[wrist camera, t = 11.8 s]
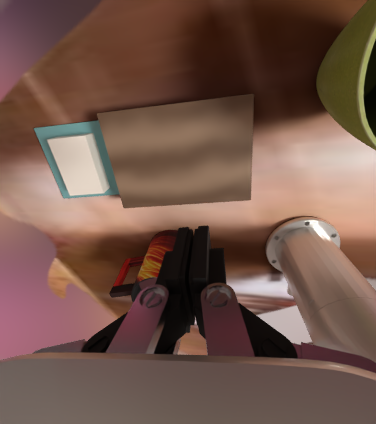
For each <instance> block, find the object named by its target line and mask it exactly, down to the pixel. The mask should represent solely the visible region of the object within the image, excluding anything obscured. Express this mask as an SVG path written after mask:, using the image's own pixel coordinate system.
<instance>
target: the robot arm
mask: <svg viewBox="0 0 376 424" xmlns="http://www.w3.org/2000/svg"><path fill="white" fill-rule="evenodd" d="M339 248H340V236H339V234H338V232H337V231H336V229H335V228H334V227H333V226H332V225H331V224H330V223H328V222H327V221H325V220H323V219H320V218H315V217H301V218H296V219H293V220H290V221H287V222H285V223H283V224H282V225H280V226H279V227H277V228H276V229H275V230H274V231H273V232H272V234H271V235H270V236H269V238H268V240H267V243H266V255H267V258H268V260H269V262H270V263H271V265H272V266H273V267H275V268H276V269H278V270H279V271H281V272H283V274H284V276H285V278H286V281H287V283H288V289H287V292H288V294H289V295H291V296H293V297H294V300H295V302H296V304H297V306H298V309H299V311H300V313H301V316H302V318H303V320H304V323H305V325H306V328H307V330H308V332H309V335H310V337H311V339H312V342H313V344H314V345H312V344H307V343H303V342H301V345H298V344H294V343H291V342H290V341H289V340H288V339H287V338H286V337H285V336H284V335H282V334H281V333H279V332H278V331H277V330H275V329H274V328H272V327H271V326H270V325H268V324H267V323H266V322H264V321H263V320H262V319H260V318H259V317H258V316H256V315H255V314H253V313H252V312H251V311H249V310H248V309H247V308H245V307H244V306H242V305H241V304H240V303H238V301H237V297H236V294H235V292H234V290H233V289H232V288H231V287H230V286H229V285H227V284H226V272H225V260H224V248H213V249H211V243H210V235H209V227H208V226H199V227H198V229H195V233H194V235H193V230H192V229H190V230H189V227H183V228H179V229H178V232H177V236H176V240H175V244H174V247H173V251H166V252H165V255H164V258H163V261H162V264H161V267H160V271H159V274H158V277H157V280H156V283H155V285H151V286H148V287H146V288H144V289H143V290H142V291H140V293H139V294H138V296H137V297H136V299H135V301H134V303H133V304H132V306H131V308H130V310H129V311H128V312H127V313H126V314H124V315H123V316H121V317H120V318H118V319H117V320H115V321H114V322H112V323H111V324H109V325H108V326H107V327H105V328H104V329H102V330H101V331H99V332H98V333H96V334H95V335H94V336H92V337H91V338H90V339H89V340H88V341H85V339H83V340H78V341H74V342H70V343H65V344H60V345H56V346H52V347H47V348H43V349H40V350H38V351H35V352H34V353H32V354H26V355H20V356H15V357H11V358H7V359H3V360H0V424H376V290H375V289H374V288H373V287H372V286H371V285H370V283H368V281H367V280H366V279H365V278H364V276H363V275H362V274H361V273H360V272H359V271H358V270H357V268H356V267H355V266H354V265H353V264H352V263H351V261H350V260H349V259H348V258H347V257H346V256H345V254H344V253H343V252H342V251H341V250H340V249H339ZM195 316H196V321H197V325H198V327H199V333H200V334H201V335H202V336H203V337H204V338H205V339H206V345H207V353H208V355H177V353H178V350H179V347H180V341H181V340H180V338H181V337H182V336H183V335H184V334H185V333H190V326H191V325H194V323H195Z"/></svg>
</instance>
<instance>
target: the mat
mask: <svg viewBox="0 0 376 424" xmlns="http://www.w3.org/2000/svg"><path fill="white" fill-rule="evenodd" d="M34 130H35V132H36V135H37V137H38V139H39V142H40V144H41V146H42V149H43V151H44V153H45V156H46V158H47V160H48V163H49V165H50V168H51V170H52V172H53V175H54V177H55V179H56V182H57V184H58V186H59V189H60V191H61V193H62V196H63V198H76V197H90V196H104V195H117V194H120V193H119V190H118V186H117V183H116V180H115V176H114V173H113V169H112V166H111V162H110V159H109V155H108V152H107V148H106V145H105V141H104V138H103V134H102V131H101V127H100V124H99V120H98V121H90V122H81V123H73V124H65V125H56V126H48V127H40V128H34ZM88 133H94V137H95V140H96V143H97V147H98V150H99V153H100V156H101V160H102V163H103V166H104V170H105V173H106V176H107V179H108V183H109V186H110V188H109V189H108V190H107V191H106V192H105V193H101V194H88V195H74V196H70V195H69V193H68V190H67V188H66V185H65V183H64V180H63V178H62V175H61V173H60V170H59V168H58V166H57V163H56V161H55V158H54V156H53V153H52V151H51V148H50V146H49V144H48V141H47V140H48V139H52V138H55V137H61V136H70V135H79V134H88Z"/></svg>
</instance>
